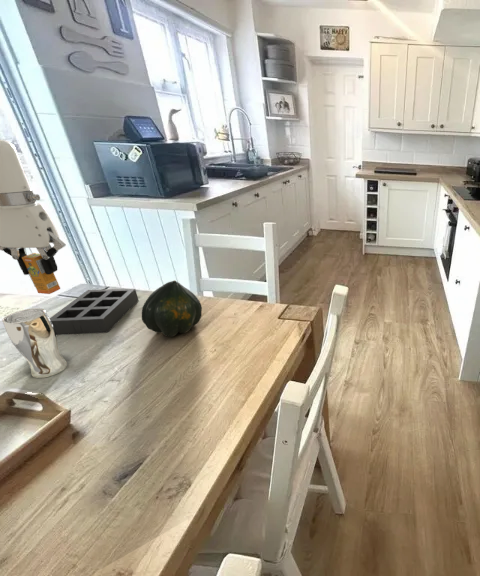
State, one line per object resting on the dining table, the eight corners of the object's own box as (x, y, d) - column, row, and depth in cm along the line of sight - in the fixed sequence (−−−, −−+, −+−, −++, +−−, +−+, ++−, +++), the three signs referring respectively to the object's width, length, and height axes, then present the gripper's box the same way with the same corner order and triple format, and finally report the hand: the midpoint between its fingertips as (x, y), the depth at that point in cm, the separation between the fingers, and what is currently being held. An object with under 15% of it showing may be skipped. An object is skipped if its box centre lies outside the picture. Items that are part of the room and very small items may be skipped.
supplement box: (36, 293, 82) (19, 256, 78) (49, 288, 85) (34, 252, 81) (48, 295, 82) (33, 258, 78) (61, 289, 85) (47, 253, 81)
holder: (51, 335, 88) (45, 321, 87) (92, 302, 105) (87, 289, 103) (107, 332, 91) (102, 318, 89) (138, 300, 108) (135, 288, 106)
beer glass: (39, 363, 79) (12, 309, 72) (75, 358, 81) (52, 306, 74) (22, 382, 73) (-8, 326, 66) (62, 376, 75) (36, 321, 69)
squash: (133, 334, 82) (169, 285, 84) (128, 311, 93) (160, 268, 94) (187, 351, 92) (218, 307, 94) (178, 329, 103) (206, 289, 104)
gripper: (65, 196, 79) (89, 266, 87) (-22, 194, 75) (12, 267, 83) (44, 203, 72) (71, 278, 80) (-52, 200, 68) (-13, 279, 76)
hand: (41, 271), depth 81 cm, fingers closed on supplement box, 3 cm apart
